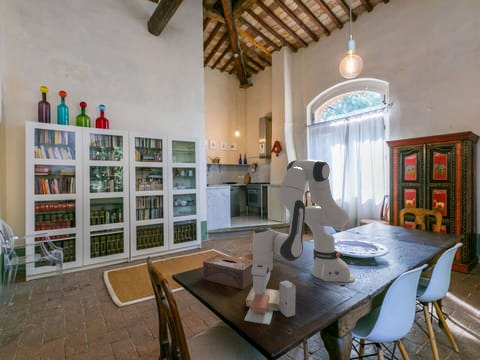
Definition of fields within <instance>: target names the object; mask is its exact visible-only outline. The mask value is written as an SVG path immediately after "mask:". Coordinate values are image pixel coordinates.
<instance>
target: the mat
mask: <svg viewBox="0 0 480 360" xmlns="http://www.w3.org/2000/svg"><path fill="white" fill-rule="evenodd" d="M273 313H274V310H273V309H267V310H266V313H263V312H257V311H251V306H250V307H249V309H248V311H247V313H246V316H245V317H244V321H246V322H251V323H256V324H257V323H258V324H264V325H268V326H269V325H271V322H272V317H273Z"/></svg>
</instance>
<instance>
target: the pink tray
mask: <svg viewBox="0 0 480 360" xmlns="http://www.w3.org/2000/svg"><path fill="white" fill-rule="evenodd" d="M268 303H269V295H267V294H263V295H257V294H255V296H254V299H253V302H252V305H251V311H257V312H263V313H266V310H267V306H268Z"/></svg>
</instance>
